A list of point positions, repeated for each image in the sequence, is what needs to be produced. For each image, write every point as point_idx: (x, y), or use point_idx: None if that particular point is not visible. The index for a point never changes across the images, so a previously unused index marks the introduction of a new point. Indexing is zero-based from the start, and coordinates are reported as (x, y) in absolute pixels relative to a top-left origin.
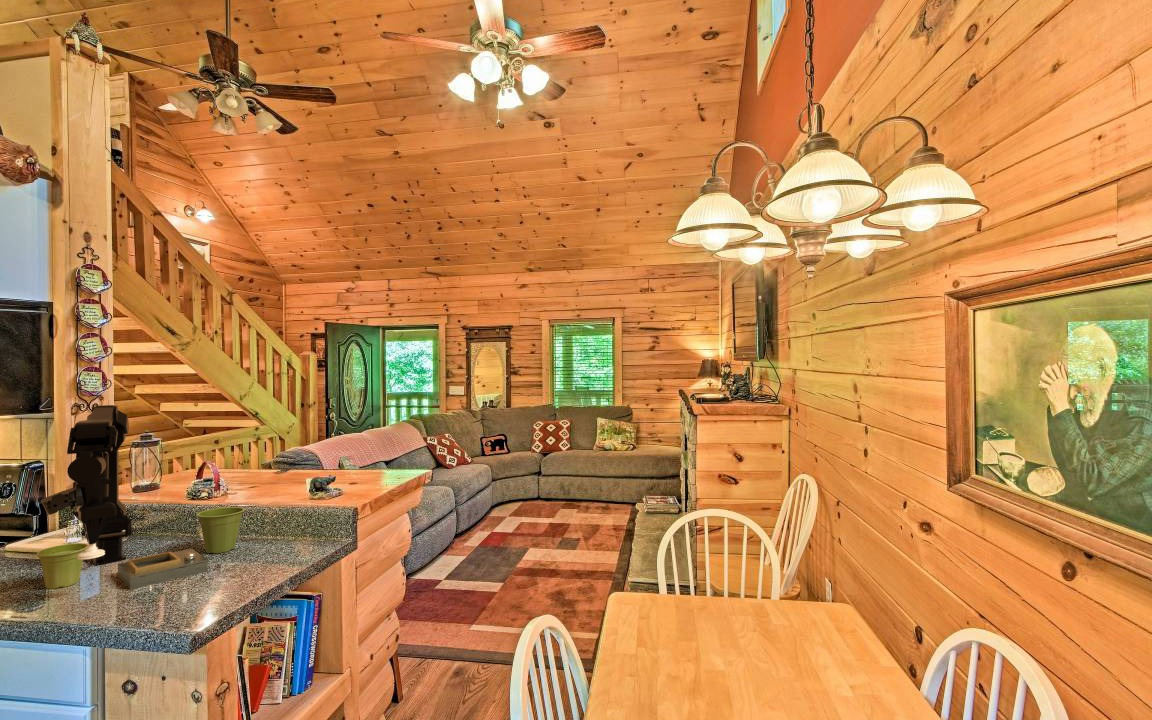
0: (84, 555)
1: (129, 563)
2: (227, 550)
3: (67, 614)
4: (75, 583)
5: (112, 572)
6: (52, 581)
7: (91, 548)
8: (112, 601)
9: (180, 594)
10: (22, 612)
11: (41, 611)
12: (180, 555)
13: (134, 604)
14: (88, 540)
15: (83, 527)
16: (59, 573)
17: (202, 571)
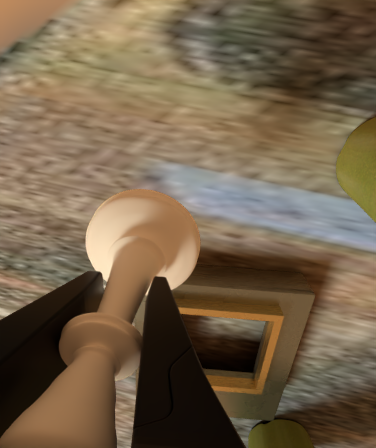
0: (99, 217)
1: (246, 312)
2: (248, 440)
3: (47, 106)
4: (341, 186)
5: (350, 273)
6: (368, 127)
7: (111, 262)
8: (77, 210)
9: (17, 309)
10: (179, 3)
11: (138, 54)
12: (233, 393)
13: (12, 236)
14: (74, 282)
15: (184, 352)
16: (366, 149)
17: None
